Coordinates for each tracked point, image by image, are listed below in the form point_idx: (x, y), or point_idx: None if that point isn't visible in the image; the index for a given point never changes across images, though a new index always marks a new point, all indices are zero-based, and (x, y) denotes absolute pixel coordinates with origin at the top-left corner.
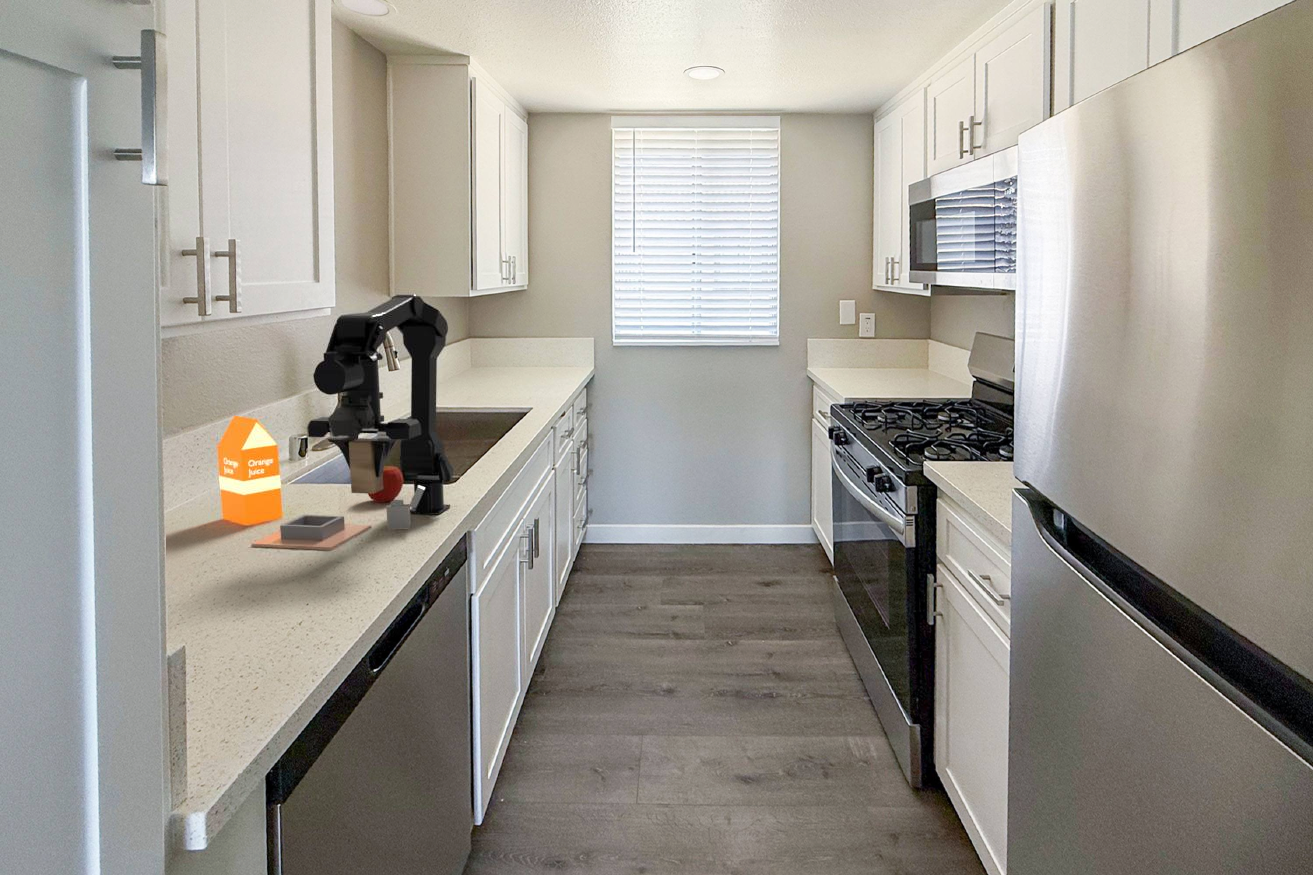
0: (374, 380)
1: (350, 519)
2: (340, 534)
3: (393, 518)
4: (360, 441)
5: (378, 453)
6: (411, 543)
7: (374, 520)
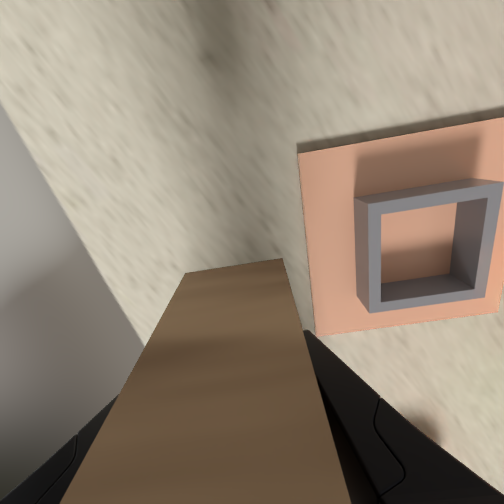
0: None
1: (394, 369)
2: (342, 258)
3: None
4: None
5: (38, 490)
6: (156, 262)
7: None
